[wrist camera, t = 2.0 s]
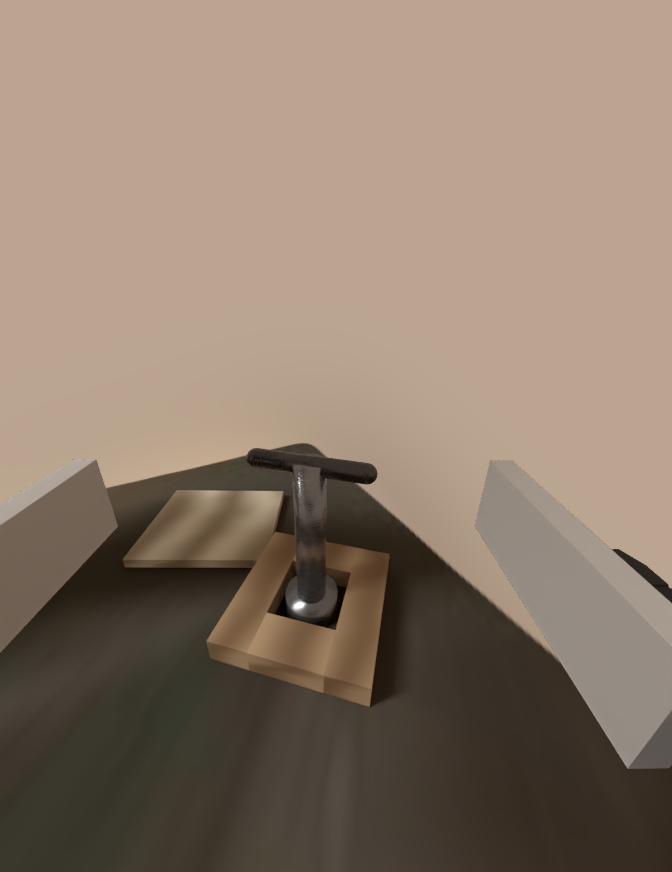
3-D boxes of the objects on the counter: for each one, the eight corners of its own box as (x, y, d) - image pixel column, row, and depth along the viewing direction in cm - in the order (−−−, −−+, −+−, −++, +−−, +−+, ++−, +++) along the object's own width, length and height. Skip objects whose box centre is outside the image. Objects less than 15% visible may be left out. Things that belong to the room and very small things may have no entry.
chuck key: (250, 617, 27) (230, 462, 21) (272, 576, 31) (260, 435, 25) (360, 646, 25) (373, 483, 19) (369, 598, 29) (382, 451, 23)
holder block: (210, 658, 24) (206, 641, 23) (276, 546, 34) (275, 531, 34) (369, 707, 21) (371, 689, 20) (387, 569, 32) (389, 554, 31)
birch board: (124, 567, 31) (122, 559, 31) (178, 496, 42) (176, 490, 42) (267, 567, 32) (266, 560, 31) (283, 497, 43) (283, 491, 42)
